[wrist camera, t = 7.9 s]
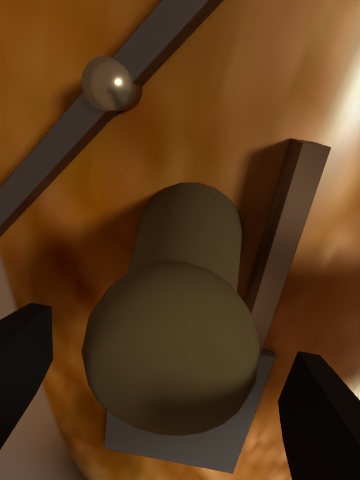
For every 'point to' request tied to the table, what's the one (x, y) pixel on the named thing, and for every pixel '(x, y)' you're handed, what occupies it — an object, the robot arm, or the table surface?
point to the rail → (284, 230)
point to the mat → (196, 445)
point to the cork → (176, 320)
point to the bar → (102, 100)
